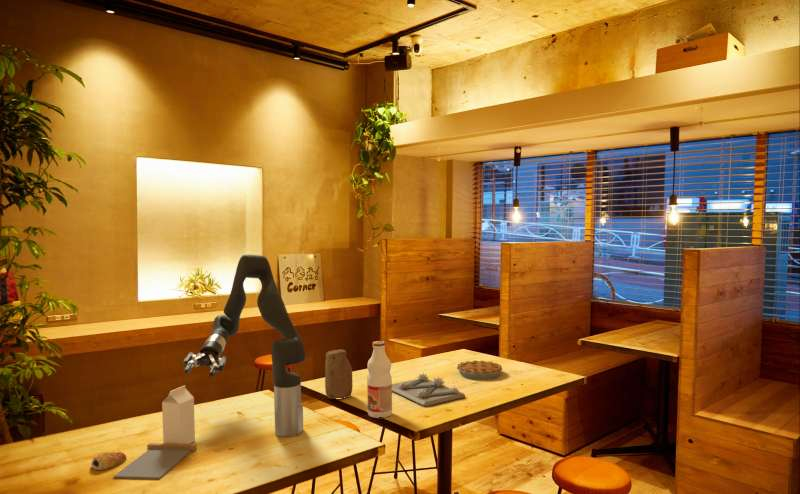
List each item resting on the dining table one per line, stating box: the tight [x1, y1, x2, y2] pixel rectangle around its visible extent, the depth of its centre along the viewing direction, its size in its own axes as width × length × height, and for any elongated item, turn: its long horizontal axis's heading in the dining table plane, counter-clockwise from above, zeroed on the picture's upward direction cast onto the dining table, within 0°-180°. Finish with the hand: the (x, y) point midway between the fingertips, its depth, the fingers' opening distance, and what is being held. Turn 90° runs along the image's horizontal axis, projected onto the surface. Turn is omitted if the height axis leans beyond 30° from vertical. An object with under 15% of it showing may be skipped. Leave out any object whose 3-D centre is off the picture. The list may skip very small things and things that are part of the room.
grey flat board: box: [113, 442, 197, 480], centre depth 170 cm, size 16×21×2 cm
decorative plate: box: [392, 372, 466, 407], centre depth 236 cm, size 30×22×7 cm
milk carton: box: [161, 385, 196, 444], centre depth 184 cm, size 7×7×19 cm
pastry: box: [90, 451, 127, 471], centre depth 170 cm, size 9×7×4 cm
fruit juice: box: [366, 340, 393, 419], centre depth 210 cm, size 9×9×28 cm
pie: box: [456, 360, 503, 380], centre depth 266 cm, size 22×22×5 cm
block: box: [324, 349, 353, 400], centre depth 232 cm, size 11×8×20 cm
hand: (198, 373), depth 199 cm, fingers open, 8 cm apart
